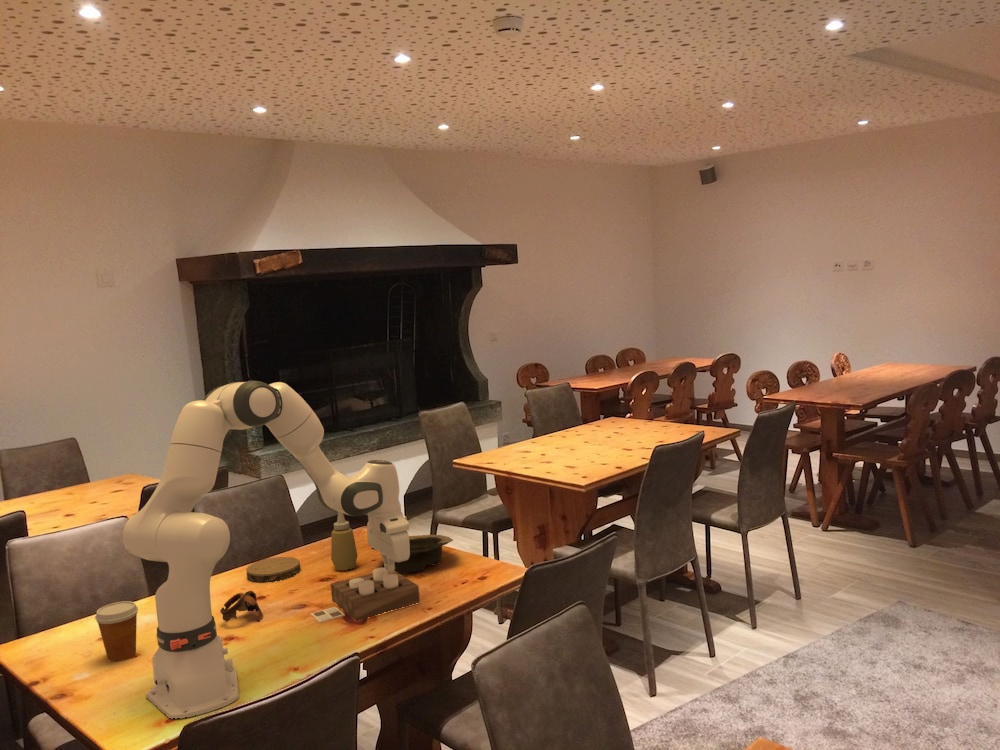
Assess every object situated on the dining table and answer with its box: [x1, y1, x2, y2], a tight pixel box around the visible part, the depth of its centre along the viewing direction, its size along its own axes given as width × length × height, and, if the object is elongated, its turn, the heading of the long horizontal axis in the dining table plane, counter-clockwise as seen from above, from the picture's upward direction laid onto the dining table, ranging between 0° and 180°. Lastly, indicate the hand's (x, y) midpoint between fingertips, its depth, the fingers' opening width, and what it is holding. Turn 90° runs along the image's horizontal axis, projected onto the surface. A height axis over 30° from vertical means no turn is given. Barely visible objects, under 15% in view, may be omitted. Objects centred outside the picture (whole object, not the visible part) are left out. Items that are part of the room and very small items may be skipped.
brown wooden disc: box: [245, 556, 301, 584], centre depth 252 cm, size 16×16×3 cm
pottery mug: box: [219, 590, 264, 622], centre depth 217 cm, size 12×10×8 cm
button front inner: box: [358, 580, 375, 596], centre depth 217 cm, size 4×4×5 cm
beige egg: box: [372, 567, 388, 583], centre depth 226 cm, size 4×4×5 cm
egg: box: [349, 577, 364, 589], centre depth 223 cm, size 4×4×5 cm
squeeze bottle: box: [330, 511, 358, 571], centre depth 251 cm, size 8×8×18 cm
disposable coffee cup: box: [94, 600, 139, 662], centre depth 198 cm, size 10×10×12 cm
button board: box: [330, 570, 421, 622], centre depth 222 cm, size 18×18×5 cm
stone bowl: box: [370, 534, 454, 574], centre depth 251 cm, size 25×25×9 cm
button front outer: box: [383, 574, 399, 590], centre depth 220 cm, size 4×4×5 cm
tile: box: [310, 606, 346, 624], centre depth 215 cm, size 7×7×1 cm
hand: (389, 569), depth 220 cm, fingers closed
